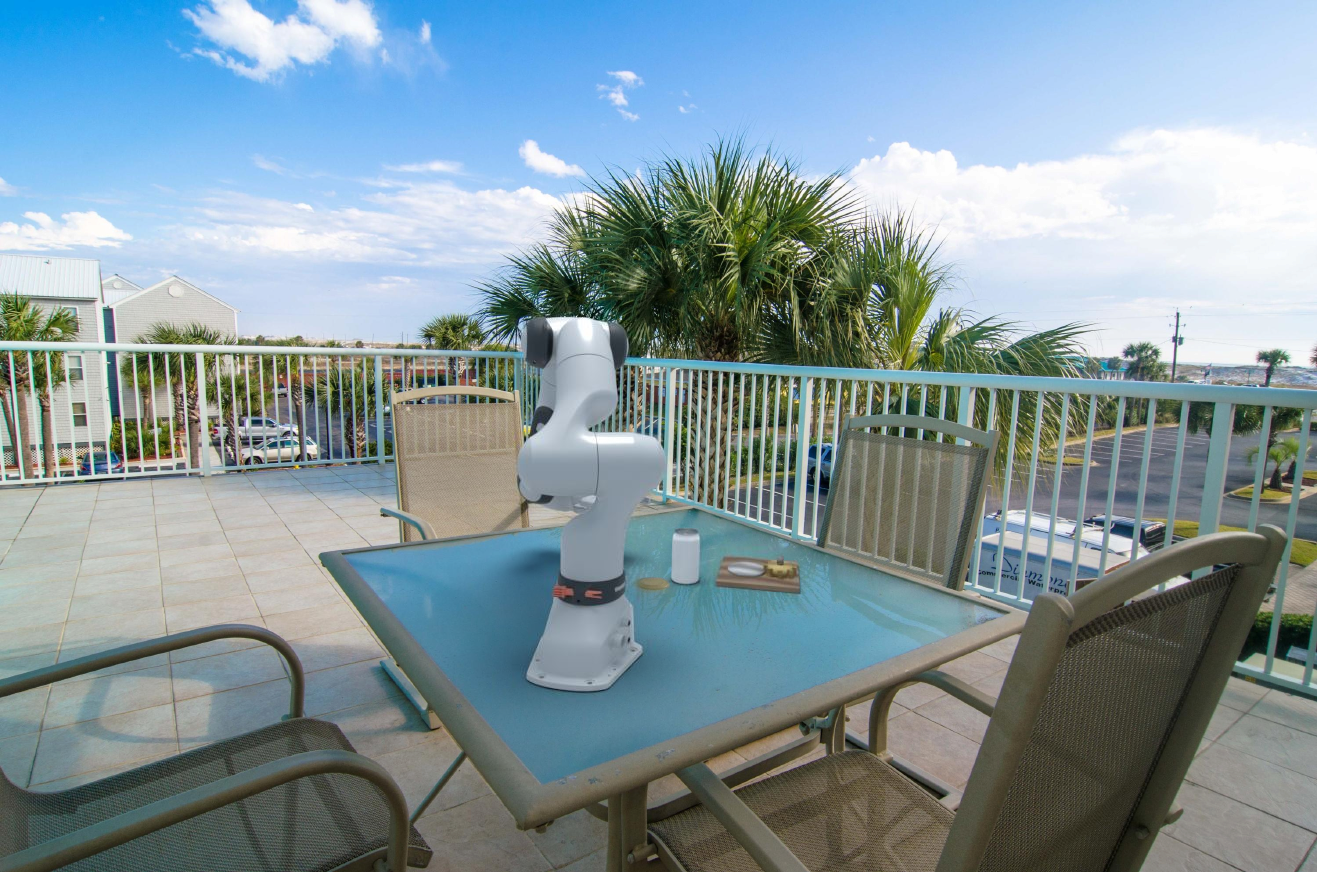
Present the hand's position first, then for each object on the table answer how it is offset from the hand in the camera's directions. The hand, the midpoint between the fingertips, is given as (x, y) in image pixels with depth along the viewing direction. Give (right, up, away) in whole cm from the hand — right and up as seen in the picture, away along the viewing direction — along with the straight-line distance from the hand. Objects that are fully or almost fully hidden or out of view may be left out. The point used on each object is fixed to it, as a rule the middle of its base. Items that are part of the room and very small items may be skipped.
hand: (640, 505), depth 156 cm
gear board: (+29, -17, +1) cm, 34 cm away
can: (+11, -18, -4) cm, 21 cm away
